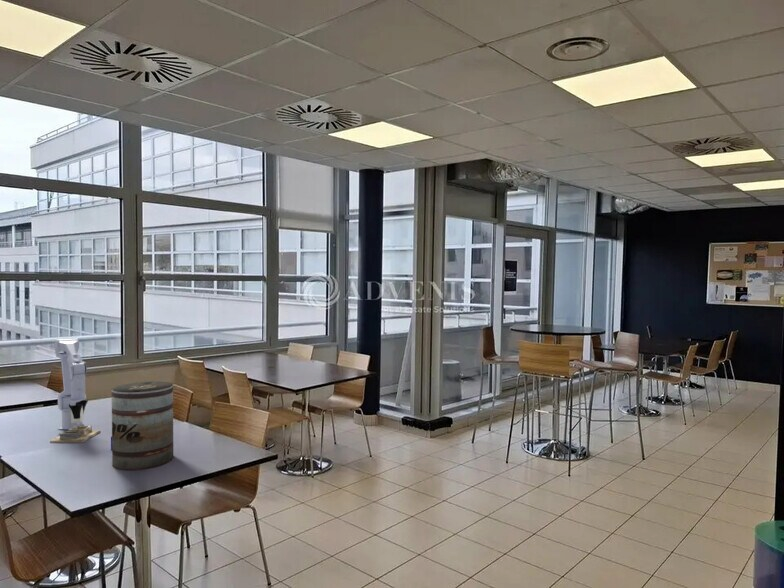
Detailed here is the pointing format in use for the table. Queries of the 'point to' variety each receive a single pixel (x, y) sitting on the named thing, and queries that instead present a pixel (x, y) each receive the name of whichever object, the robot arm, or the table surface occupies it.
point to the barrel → (142, 425)
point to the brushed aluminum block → (79, 418)
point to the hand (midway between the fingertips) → (78, 417)
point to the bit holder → (76, 435)
